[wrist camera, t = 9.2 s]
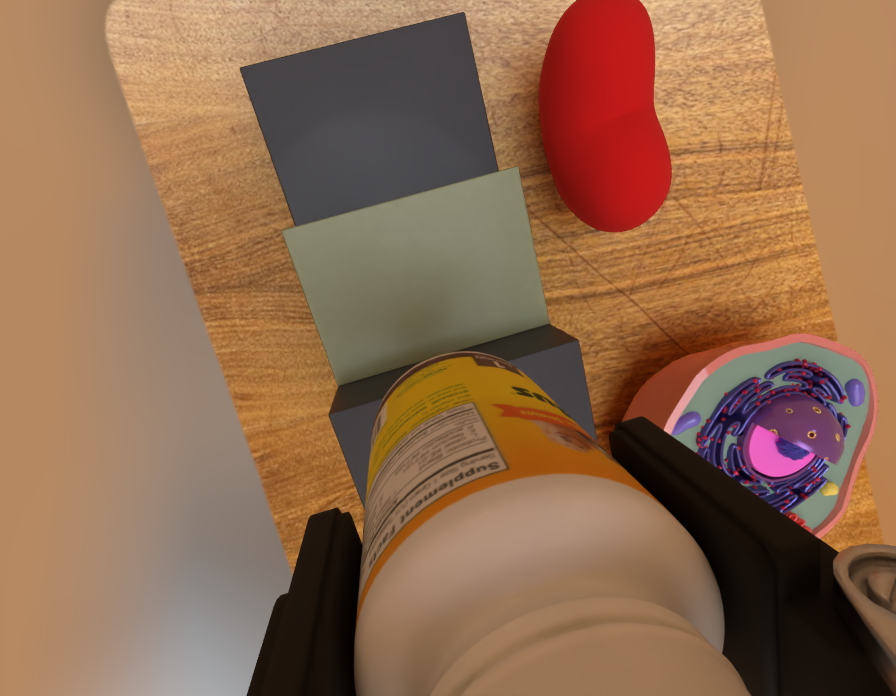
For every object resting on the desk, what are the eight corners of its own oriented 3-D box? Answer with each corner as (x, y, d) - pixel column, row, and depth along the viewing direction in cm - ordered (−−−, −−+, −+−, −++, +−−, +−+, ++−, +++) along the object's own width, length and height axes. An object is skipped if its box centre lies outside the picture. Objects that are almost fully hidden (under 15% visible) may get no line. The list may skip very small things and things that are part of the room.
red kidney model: (609, 221, 31) (706, 213, 22) (540, 243, 31) (607, 245, 21) (576, 43, 28) (674, -58, 18) (499, 66, 28) (556, -24, 18)
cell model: (539, 486, 36) (603, 593, 25) (664, 274, 33) (800, 292, 22) (689, 546, 40) (800, 661, 29) (814, 361, 37) (993, 414, 26)
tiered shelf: (385, 458, 34) (383, 560, 23) (255, 85, 26) (164, -16, 16) (540, 411, 34) (606, 488, 24) (456, 35, 27) (499, -95, 16)
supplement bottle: (570, 446, 14) (959, 889, 5) (432, 532, 15) (527, 1145, 5) (489, 309, 13) (824, 544, 3) (335, 407, 13) (173, 943, 3)
